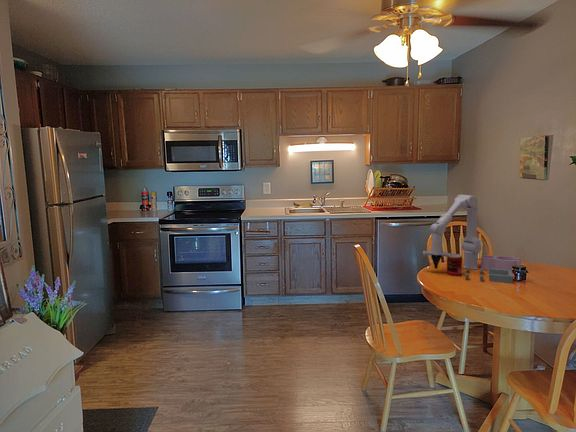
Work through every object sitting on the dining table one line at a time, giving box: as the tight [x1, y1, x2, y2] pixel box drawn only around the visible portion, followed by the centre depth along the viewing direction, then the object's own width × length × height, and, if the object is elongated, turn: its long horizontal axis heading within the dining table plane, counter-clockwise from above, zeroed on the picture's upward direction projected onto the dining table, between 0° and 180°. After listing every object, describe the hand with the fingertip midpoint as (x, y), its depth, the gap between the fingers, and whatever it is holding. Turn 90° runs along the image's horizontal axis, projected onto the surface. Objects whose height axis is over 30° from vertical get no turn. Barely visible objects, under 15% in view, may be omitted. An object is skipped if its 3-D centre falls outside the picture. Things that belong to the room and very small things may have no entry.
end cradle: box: [488, 268, 514, 284], centre depth 214 cm, size 14×11×4 cm
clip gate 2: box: [479, 267, 485, 282], centre depth 218 cm, size 19×2×2 cm, turn 154°
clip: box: [480, 254, 522, 272], centre depth 232 cm, size 20×12×7 cm, turn 61°
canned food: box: [446, 253, 463, 277], centre depth 223 cm, size 8×8×11 cm
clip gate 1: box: [465, 267, 471, 281], centre depth 221 cm, size 19×2×2 cm, turn 154°
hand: (436, 268), depth 228 cm, fingers closed
